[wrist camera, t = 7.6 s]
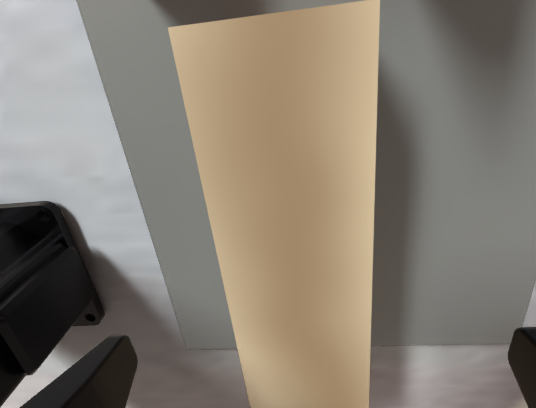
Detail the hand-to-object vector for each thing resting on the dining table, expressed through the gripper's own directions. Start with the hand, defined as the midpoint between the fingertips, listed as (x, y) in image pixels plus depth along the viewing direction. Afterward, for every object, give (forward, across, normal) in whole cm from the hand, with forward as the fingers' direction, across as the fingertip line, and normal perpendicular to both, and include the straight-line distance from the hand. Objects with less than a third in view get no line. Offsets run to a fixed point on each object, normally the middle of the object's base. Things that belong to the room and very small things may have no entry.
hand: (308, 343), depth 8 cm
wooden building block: (+6, 0, 0) cm, 6 cm away
